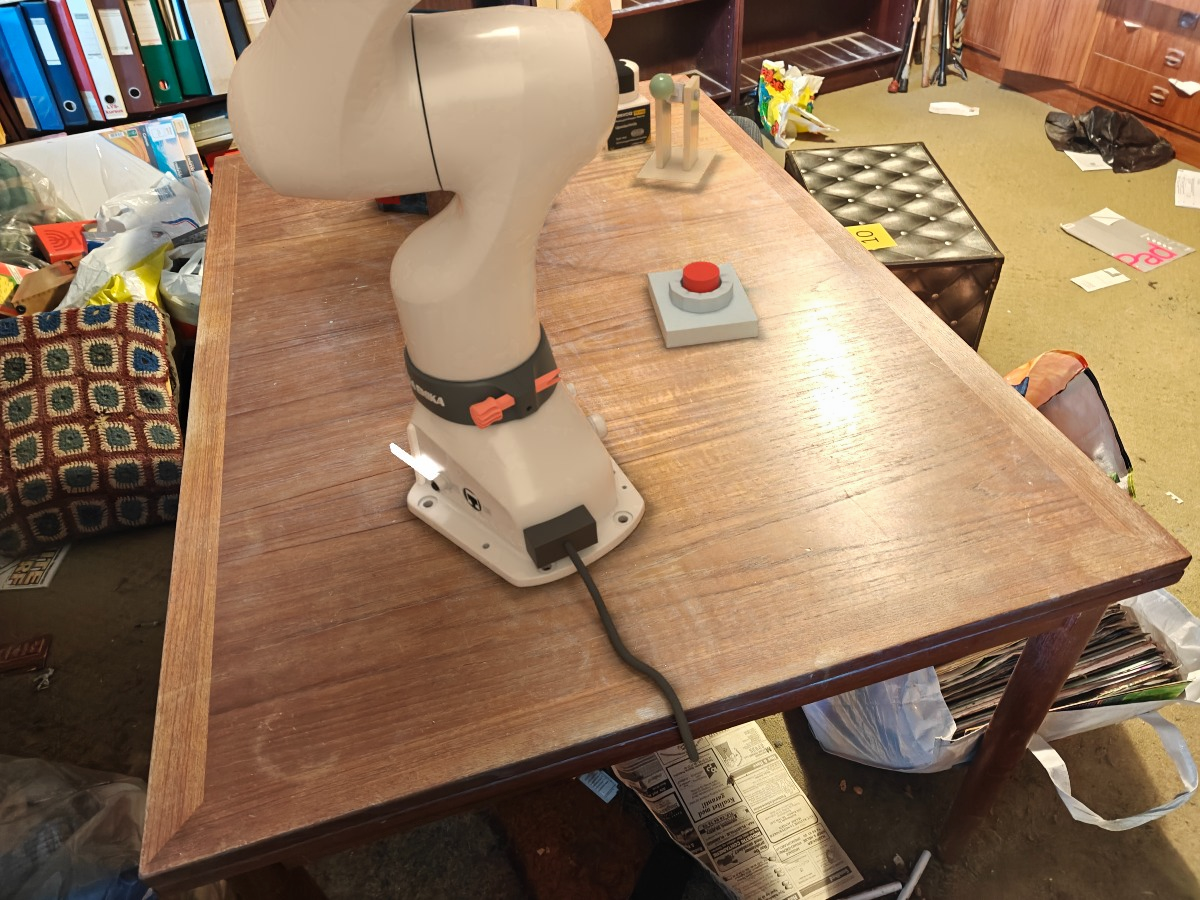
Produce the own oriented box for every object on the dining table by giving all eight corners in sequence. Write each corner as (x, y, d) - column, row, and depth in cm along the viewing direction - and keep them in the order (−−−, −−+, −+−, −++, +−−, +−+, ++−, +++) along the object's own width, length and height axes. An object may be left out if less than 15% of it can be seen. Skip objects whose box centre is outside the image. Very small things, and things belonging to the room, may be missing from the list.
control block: (757, 336, 93) (759, 305, 90) (666, 348, 92) (666, 317, 89) (730, 279, 102) (732, 249, 99) (647, 289, 101) (646, 259, 98)
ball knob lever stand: (697, 191, 119) (699, 98, 110) (635, 184, 121) (632, 93, 112) (717, 157, 126) (720, 68, 117) (658, 152, 129) (657, 64, 120)
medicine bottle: (608, 158, 128) (603, 75, 120) (591, 140, 133) (586, 60, 125) (651, 148, 130) (650, 66, 122) (633, 131, 135) (631, 51, 127)
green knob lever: (669, 100, 107) (672, 72, 106) (644, 98, 108) (647, 70, 107) (689, 108, 117) (692, 83, 116) (667, 106, 118) (670, 81, 117)
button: (722, 292, 93) (723, 278, 92) (686, 296, 93) (686, 282, 92) (714, 273, 96) (715, 259, 95) (679, 277, 96) (679, 263, 95)
